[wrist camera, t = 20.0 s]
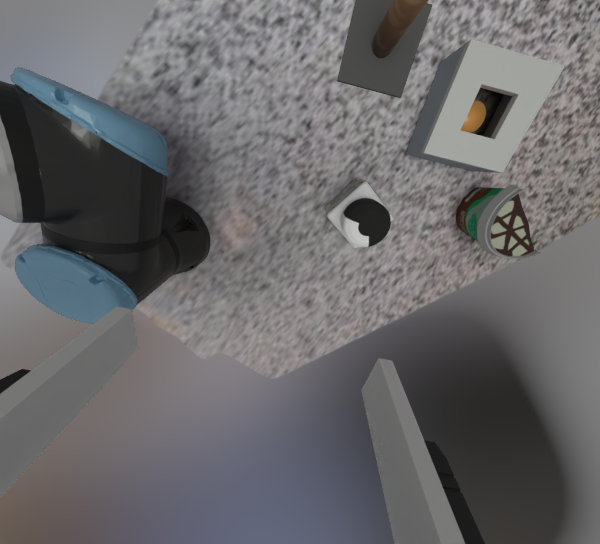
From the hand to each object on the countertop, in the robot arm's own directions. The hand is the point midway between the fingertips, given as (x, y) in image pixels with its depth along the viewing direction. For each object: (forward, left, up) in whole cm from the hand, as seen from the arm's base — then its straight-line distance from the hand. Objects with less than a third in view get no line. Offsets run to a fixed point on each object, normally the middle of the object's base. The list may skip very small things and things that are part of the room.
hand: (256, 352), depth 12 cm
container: (+10, +3, -35) cm, 37 cm away
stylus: (+7, +26, -34) cm, 44 cm away
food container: (+32, +6, -35) cm, 48 cm away
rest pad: (+7, +26, -35) cm, 44 cm away
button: (+22, +20, -34) cm, 45 cm away
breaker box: (+22, +20, -35) cm, 46 cm away
